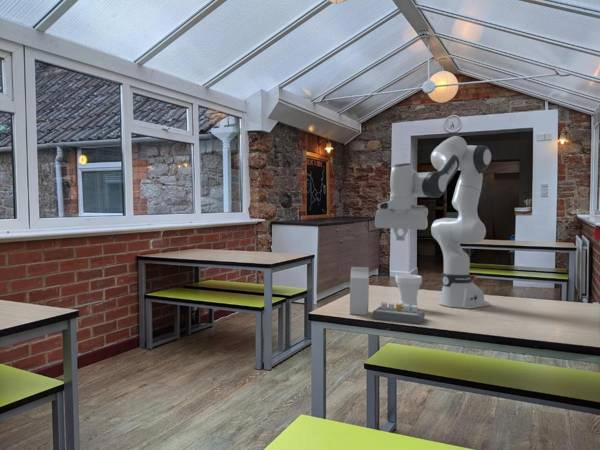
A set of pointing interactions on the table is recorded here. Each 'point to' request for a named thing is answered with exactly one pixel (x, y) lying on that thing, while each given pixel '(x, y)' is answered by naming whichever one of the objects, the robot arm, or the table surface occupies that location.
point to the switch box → (399, 314)
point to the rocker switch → (399, 307)
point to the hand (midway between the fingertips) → (400, 240)
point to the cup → (408, 288)
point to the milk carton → (359, 290)
